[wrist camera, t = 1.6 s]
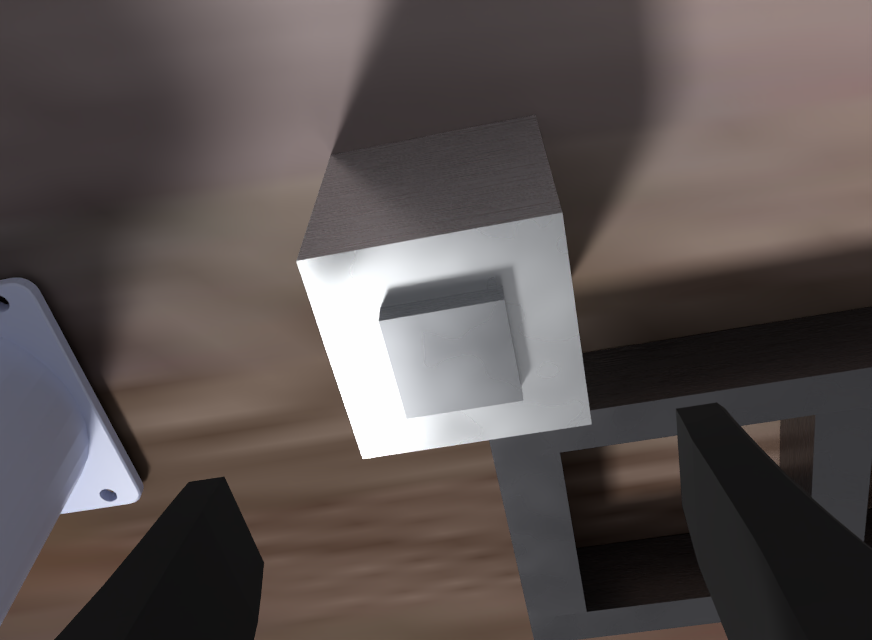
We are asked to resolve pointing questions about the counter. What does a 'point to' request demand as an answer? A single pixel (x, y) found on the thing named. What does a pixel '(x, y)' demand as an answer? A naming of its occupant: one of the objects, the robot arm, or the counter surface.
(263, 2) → the counter surface
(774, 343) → the grey flat rectangular frame
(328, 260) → the block
